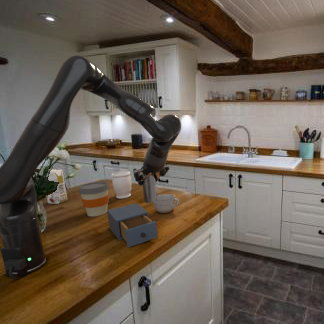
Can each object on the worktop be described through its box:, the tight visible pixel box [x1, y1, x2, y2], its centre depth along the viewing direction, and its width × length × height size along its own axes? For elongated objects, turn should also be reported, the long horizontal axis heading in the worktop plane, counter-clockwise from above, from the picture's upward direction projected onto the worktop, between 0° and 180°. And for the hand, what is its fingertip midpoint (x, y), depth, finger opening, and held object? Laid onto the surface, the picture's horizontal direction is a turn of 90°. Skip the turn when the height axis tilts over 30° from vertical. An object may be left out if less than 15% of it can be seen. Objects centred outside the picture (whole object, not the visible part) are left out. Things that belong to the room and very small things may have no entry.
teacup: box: [153, 193, 180, 214], centre depth 128 cm, size 14×11×8 cm
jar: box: [110, 170, 132, 200], centre depth 151 cm, size 11×10×15 cm
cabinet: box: [107, 202, 150, 241], centre depth 109 cm, size 15×13×9 cm
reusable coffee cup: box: [78, 181, 110, 217], centre depth 126 cm, size 13×13×15 cm
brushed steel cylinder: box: [141, 175, 158, 204], centre depth 102 cm, size 5×5×12 cm
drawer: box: [119, 215, 159, 248], centre depth 101 cm, size 15×11×7 cm
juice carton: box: [46, 168, 68, 205], centre depth 142 cm, size 8×9×19 cm
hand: (147, 182), depth 103 cm, fingers closed on brushed steel cylinder, 5 cm apart
